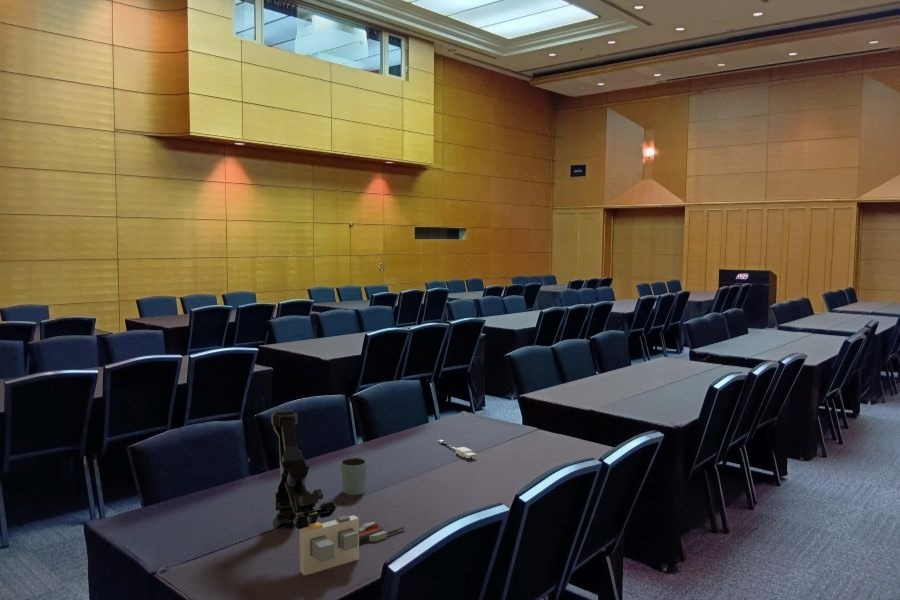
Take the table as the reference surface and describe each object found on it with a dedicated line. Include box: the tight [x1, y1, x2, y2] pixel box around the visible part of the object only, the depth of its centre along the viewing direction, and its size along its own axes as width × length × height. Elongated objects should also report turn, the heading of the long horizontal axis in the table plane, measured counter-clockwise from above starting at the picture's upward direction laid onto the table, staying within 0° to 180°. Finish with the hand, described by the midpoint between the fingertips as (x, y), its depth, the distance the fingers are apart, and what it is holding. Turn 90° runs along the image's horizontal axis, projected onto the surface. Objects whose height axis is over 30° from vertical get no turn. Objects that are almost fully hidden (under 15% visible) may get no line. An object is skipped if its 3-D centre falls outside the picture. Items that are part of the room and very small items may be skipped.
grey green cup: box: [340, 457, 367, 496], centre depth 263 cm, size 10×10×12 cm
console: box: [299, 514, 360, 577], centre depth 202 cm, size 3×18×14 cm, turn 126°
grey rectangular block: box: [310, 536, 334, 562], centre depth 196 cm, size 9×4×4 cm, turn 36°
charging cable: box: [438, 439, 477, 459], centre depth 316 cm, size 5×32×3 cm, turn 29°
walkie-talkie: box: [359, 520, 405, 545], centre depth 223 cm, size 9×4×20 cm
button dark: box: [338, 529, 358, 551], centre depth 204 cm, size 9×4×4 cm, turn 36°
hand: (313, 541), depth 200 cm, fingers closed, pressing on grey rectangular block
